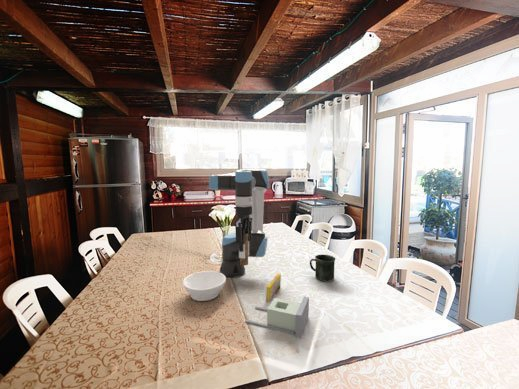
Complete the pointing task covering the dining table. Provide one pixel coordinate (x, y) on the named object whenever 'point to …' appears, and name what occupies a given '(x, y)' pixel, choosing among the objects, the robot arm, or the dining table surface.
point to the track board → (300, 319)
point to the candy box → (273, 287)
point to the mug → (324, 267)
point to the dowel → (245, 261)
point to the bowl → (204, 285)
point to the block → (282, 314)
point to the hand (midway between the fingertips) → (244, 256)
